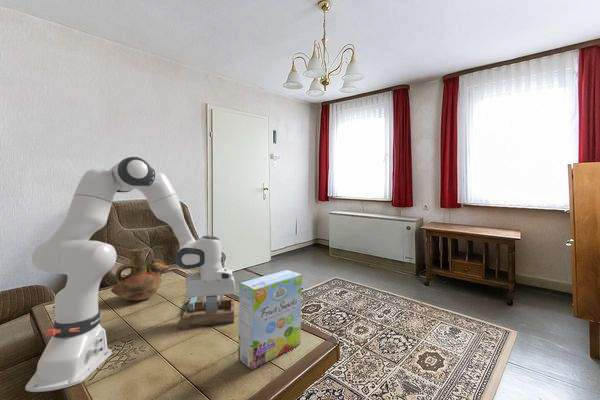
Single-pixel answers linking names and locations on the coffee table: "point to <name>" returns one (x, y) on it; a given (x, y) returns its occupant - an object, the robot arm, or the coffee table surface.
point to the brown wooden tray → (207, 315)
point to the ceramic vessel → (139, 277)
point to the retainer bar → (192, 303)
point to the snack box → (269, 317)
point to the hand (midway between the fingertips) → (211, 305)
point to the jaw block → (211, 304)
